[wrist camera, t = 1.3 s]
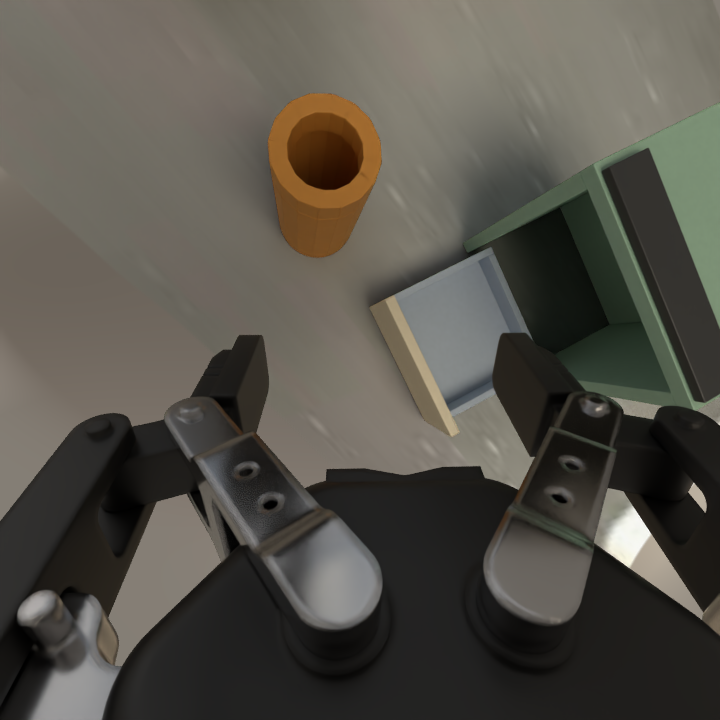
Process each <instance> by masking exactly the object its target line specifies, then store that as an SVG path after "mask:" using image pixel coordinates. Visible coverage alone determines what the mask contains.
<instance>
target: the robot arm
mask: <svg viewBox="0 0 720 720" xmlns="http://www.w3.org/2000/svg"><path fill="white" fill-rule="evenodd" d="M492 383H493V388H494V390H495V392H496V394H497V396H498V398H499V400H500V402H501V403H502V405H503V407H504V409H505V411H506V413H507V415H508V416H509V418H510V420H511V422H512V424H513V426H514V428H515V429H516V431H517V433H518V435H519V437H520V439H521V441H522V442H523V444H524V446H525V448H526V450H527V452H528V454H529V455H530V457H535V458H534V460H533V462H532V464H531V466H530V468H529V470H528V472H527V474H526V476H525V478H524V480H523V482H522V485H521V487H520V489H519V490H517V489H515V488H513V487H511V486H509V485H507V484H504V483H501V482H498V481H495V480H491V479H487V478H485V477H484V475H483V472H482V470H481V467H480V466H470V467H441V468H436V469H432V470H428V471H423V472H419V473H414V474H410V475H399V474H393V473H387V472H382V471H376V470H370V469H365V468H364V469H327V472H326V481H324V482H320V483H317V484H314V485H311V486H309V487H307V488H304V487H303V486H302V485H301V484H300V482H299V481H298V480H297V479H296V478H295V477H294V476H293V475H292V473H291V472H290V471H289V470H288V469H287V468H286V467H285V465H284V464H283V463H282V462H281V461H280V460H279V459H278V458H277V456H276V455H275V454H274V453H273V452H272V451H271V450H270V448H268V446H267V445H266V444H265V443H264V442H263V440H262V439H261V438H260V437H259V436H258V435H257V434H256V432H257V428H258V425H259V421H260V418H261V415H262V411H263V407H264V404H265V401H266V397H267V394H268V388H269V375H268V368H267V360H266V353H265V345H264V339H263V336H262V335H239V336H238V338H237V340H236V342H235V344H234V346H233V348H232V350H222V351H221V352H220V353H218V354H217V355H216V356H214V357H213V358H212V360H211V361H210V363H209V365H208V368H207V369H206V370H205V372H204V374H203V376H202V377H201V379H200V381H199V383H198V385H197V386H196V388H195V390H194V392H193V394H192V395H191V397H190V398H187V399H183V400H181V401H179V402H177V403H175V404H173V405H172V406H171V407H170V408H168V410H167V411H166V412H165V415H164V420H161V421H157V422H152V423H148V424H143V425H138V426H134V427H132V425H131V423H130V420H129V419H128V417H127V416H125V415H122V414H117V413H110V414H103V415H99V416H95V417H92V418H90V419H88V420H86V421H84V422H82V423H80V424H79V425H77V426H76V427H75V428H74V429H73V430H72V431H71V432H70V433H69V434H68V436H67V437H66V438H65V440H64V441H63V442H62V443H61V445H60V446H59V447H58V448H57V450H56V451H55V452H54V454H53V455H52V456H51V457H50V459H49V460H48V461H47V462H46V464H45V465H44V467H43V468H42V469H41V470H40V471H39V473H38V474H37V475H36V476H35V478H34V479H33V481H32V482H31V483H30V484H29V485H28V487H27V488H26V489H25V490H24V492H23V493H22V494H21V496H20V497H19V498H18V499H17V501H16V502H15V503H14V504H13V506H12V507H11V508H10V510H9V511H8V512H7V513H6V515H5V516H4V517H3V519H2V520H1V521H0V720H720V426H719V425H718V424H717V423H716V422H715V421H714V420H712V419H711V418H709V417H708V416H706V415H704V414H702V413H700V412H698V411H695V410H692V409H689V408H685V407H681V406H663V407H661V408H659V409H658V411H657V413H656V415H655V417H654V419H647V418H641V417H636V416H630V415H625V414H624V412H623V409H622V407H621V406H620V405H619V404H618V403H617V402H616V401H614V400H613V399H611V398H609V397H607V396H605V395H602V394H599V393H596V392H591V391H586V390H585V389H584V388H583V386H582V385H581V384H580V383H579V382H578V381H577V380H576V378H575V377H574V376H573V375H572V374H571V373H570V372H568V369H567V368H566V367H565V366H564V365H562V362H561V361H560V360H559V359H558V358H557V357H556V356H555V354H553V353H551V352H550V351H548V350H546V349H545V348H543V347H538V346H537V345H536V344H535V343H534V341H533V340H532V339H531V338H530V337H529V335H528V334H527V333H502V334H501V336H500V338H499V342H498V347H497V352H496V357H495V362H494V368H493V373H492ZM693 483H695V484H696V485H697V487H698V488H699V489H700V490H701V491H702V493H703V494H704V496H705V499H706V503H707V510H706V513H705V512H704V511H703V510H702V508H701V507H700V506H699V505H698V504H697V502H696V501H695V500H694V499H693V498H692V496H691V495H690V494H689V493H688V491H689V490H690V488H691V486H692V484H693ZM607 488H611V489H616V490H620V491H624V493H625V494H626V496H627V498H628V499H629V501H630V502H631V504H632V505H633V507H634V508H635V510H636V511H637V513H638V514H639V516H640V517H641V519H642V520H643V522H644V523H645V525H646V526H647V528H648V529H649V531H650V532H651V534H652V535H653V537H654V538H655V540H656V541H657V543H658V545H659V546H660V547H661V549H662V551H663V552H664V554H665V555H666V557H667V558H668V560H669V561H670V563H671V564H672V566H673V567H674V569H675V570H676V572H677V573H678V575H679V576H680V578H681V579H682V581H683V582H684V584H685V585H686V587H687V588H688V590H689V591H690V593H691V595H692V596H693V598H694V599H695V600H696V602H697V604H698V605H699V607H700V608H701V609H702V611H703V616H702V620H701V619H700V618H698V617H697V616H696V615H695V614H693V613H692V612H690V611H689V610H687V609H686V608H685V607H683V606H682V605H680V604H679V603H678V602H676V601H675V600H673V599H672V598H670V597H669V596H668V595H666V594H665V593H663V592H662V591H661V590H659V589H658V588H657V587H655V586H654V585H652V584H651V583H650V582H648V581H647V580H645V579H644V578H642V577H641V576H640V575H638V574H637V573H635V572H634V571H633V570H631V569H630V568H628V567H627V566H626V565H624V564H623V563H621V562H620V561H619V560H617V559H616V558H614V557H613V556H612V555H610V554H609V553H607V552H606V551H605V550H603V549H602V548H600V547H599V546H598V545H596V544H595V543H594V539H595V535H596V531H597V527H598V523H599V519H600V515H601V512H602V508H603V504H604V500H605V496H606V492H607ZM183 494H187V495H188V497H189V499H190V501H191V503H192V504H193V506H194V508H195V510H196V512H197V513H198V515H199V517H200V519H201V521H202V522H203V524H204V526H205V528H206V530H207V531H208V533H209V535H210V537H211V539H212V541H213V543H214V545H215V548H216V550H217V553H218V555H219V558H220V560H221V563H220V564H219V565H218V566H217V567H216V568H215V569H214V570H213V571H212V572H211V573H209V574H208V575H207V576H206V577H205V578H204V579H203V580H202V581H201V582H200V583H199V584H198V585H197V586H196V587H195V588H194V589H193V590H192V591H191V592H190V593H189V594H188V595H187V596H185V598H183V599H182V600H181V601H180V602H179V603H178V604H177V605H176V606H175V607H174V608H173V609H172V610H171V611H170V612H169V613H168V614H167V615H166V616H165V617H164V618H162V619H161V620H160V621H159V622H158V623H157V624H156V625H155V626H154V627H153V628H152V629H151V630H150V631H149V632H148V633H147V634H146V635H145V636H144V637H143V638H142V639H141V640H140V642H139V643H138V644H137V645H136V647H135V648H134V649H133V650H132V652H131V653H130V654H129V656H128V658H127V659H126V661H125V663H124V664H123V666H120V667H119V666H115V661H116V657H117V652H118V647H119V640H118V635H117V633H116V631H115V629H114V627H113V625H112V624H111V622H110V620H109V618H108V617H109V614H110V612H111V609H112V607H113V605H114V602H115V600H116V597H117V595H118V593H119V590H120V588H121V585H122V583H123V581H124V578H125V576H126V574H127V571H128V569H129V566H130V564H131V562H132V559H133V557H134V554H135V552H136V550H137V547H138V545H139V543H140V540H141V538H142V535H143V533H144V531H145V528H146V526H147V523H148V521H149V519H150V516H151V514H152V512H153V509H154V507H155V504H156V502H157V501H161V500H164V499H168V498H172V497H175V496H179V495H183Z"/></svg>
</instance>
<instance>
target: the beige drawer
mask: <svg viewBox="0 0 720 720" xmlns="http://www.w3.org/2000/svg"><path fill="white" fill-rule="evenodd" d="M370 310H371V312H372V314H373V316H374V318H375V320H376V322H377V324H378V326H379V328H380V330H381V333H382V335H383V337H384V339H385V341H386V343H387V345H388V347H389V349H390V351H391V353H392V355H393V357H394V359H395V361H396V363H397V365H398V367H399V369H400V371H401V374H402V376H403V378H404V380H405V382H406V384H407V386H408V388H409V390H410V392H411V394H412V396H413V398H414V400H415V402H416V404H417V406H418V408H419V410H420V412H421V415H422V417H423V419H424V420H425V421H426V422H428V423H429V424H431V425H432V426H434V427H436V428H437V429H439V430H440V431H442V432H443V433H445V434H447V435H448V436H450V437H453V436H455V435H456V434H458V433H459V429H458V427H457V425H456V423H455V421H454V419H453V417H454V416H456V415H458V414H460V413H462V412H463V411H465V410H467V409H469V408H471V407H473V406H475V405H476V404H478V403H480V402H482V401H484V400H486V399H487V398H489V397H491V396H493V395H495V394H496V392H495V390H494V388H493V383H492V373H493V368H494V362H495V357H496V352H497V347H498V342H499V338H500V336H501V334H502V333H527V334H528V335H529V337H530V338H531V339H532V337H531V335H530V332H529V330H528V328H527V326H526V323H525V321H524V319H523V317H522V314H521V312H520V310H519V308H518V305H517V303H516V301H515V299H514V296H513V294H512V292H511V290H510V288H509V285H508V283H507V281H506V279H505V276H504V274H503V272H502V270H501V267H500V265H499V263H498V261H497V258H496V256H495V254H494V252H493V249H492V247H489V248H487V249H485V250H483V251H481V252H479V253H477V254H475V255H473V256H471V257H469V258H467V259H465V260H463V261H461V262H459V263H457V264H455V265H453V266H451V267H449V268H447V269H445V270H443V271H441V272H439V273H437V274H435V275H433V276H431V277H429V278H427V279H425V280H423V281H421V282H419V283H417V284H415V285H413V286H411V287H409V288H407V289H405V290H403V291H401V292H399V293H397V294H395V295H392V296H390V297H388V298H386V299H384V300H382V301H380V302H378V303H376V304H374V305H372V306H370ZM532 340H533V339H532Z"/></svg>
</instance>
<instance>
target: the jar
mask: <svg viewBox="0 0 720 720" xmlns="http://www.w3.org/2000/svg"><path fill="white" fill-rule="evenodd" d="M268 152H269V163H270V169H271V175H272V181H273V187H274V193H275V199H276V205H277V211H278V217H279V223H280V228H281V230H282V233H283V235H284V237H285V239H286V241H287V242H288V243H289V245H290V246H291V247H292V248H293V249H295V250H296V251H297V252H299V253H301V254H303V255H306V256H309V257H318V258H319V257H326V256H329V255H332V254H334V253H335V252H337V251H338V250H339V249H341V248H342V247H343V245H344V244H345V243H346V241H347V240H348V239H349V237H350V234H351V232H352V230H353V228H354V226H355V224H356V222H357V220H358V218H359V215H360V213H361V211H362V209H363V207H364V205H365V203H366V201H367V199H368V196H369V194H370V192H371V190H372V188H373V186H374V184H375V181H376V178H377V175H378V172H379V169H380V166H381V162H382V160H381V145H380V140H379V137H378V134H377V132H376V130H375V128H374V126H373V124H372V122H371V120H370V118H369V117H368V116H367V115H366V114H365V113H364V112H363V111H362V110H361V109H360V108H359V107H358V106H357V105H356V104H353V102H351V101H348V100H346V99H344V98H341V97H339V96H337V95H334V94H333V95H332V94H315V93H312V94H310V93H309V94H307V95H305V96H302V97H300V98H298V99H295V100H293V101H291V102H290V103H289V104H288V105H287V106H286V107H285V108H284V109H283V110H282V111H281V112H280V113H279V115H278V116H277V117H276V118H275V120H274V123H273V126H272V129H271V132H270V135H269V138H268Z"/></svg>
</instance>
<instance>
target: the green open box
mask: <svg viewBox="0 0 720 720" xmlns="http://www.w3.org/2000/svg"><path fill="white" fill-rule="evenodd" d="M558 208H561V210H562V213H563V215H564V217H565V220H566V222H567V225H568V227H569V229H570V232H571V234H572V236H573V239H574V241H575V243H576V246H577V248H578V251H579V253H580V255H581V258H582V260H583V262H584V265H585V267H586V270H587V272H588V274H589V277H590V279H591V281H592V284H593V286H594V289H595V291H596V293H597V296H598V298H599V300H600V303H601V305H602V307H603V310H604V312H605V315H606V317H607V319H608V322H609V324H610V325H608V326H606V327H604V328H602V329H600V330H599V331H597V332H595V333H593V334H591V335H589V336H588V337H586V338H584V339H582V340H580V341H578V342H577V343H575V344H573V345H571V346H569V347H567V348H566V349H564V350H562V351H560V352H558V353H556V354H555V356H556V357H557V358H558V359H559V360H560V361H561V362H562V365H564V366H565V367H566V368H567V369H568V372H570V373H571V374H572V375H573V376H574V377H575V378H576V380H577V381H578V382H579V383H580V384H581V385H582V386H583V388H584V389H585V390H586V391H591V392H596V393H599V394H602V395H605V396H609V397H615V398H621V399H626V400H632V401H638V402H644V403H649V404H655V405H661V406H681V407H685V408H689V409H692V410H695V411H696V410H698V409H700V408H701V407H703V406H705V405H706V404H708V403H710V402H711V401H713V400H715V399H717V398H718V397H720V102H719V103H717V104H715V105H713V106H711V107H709V108H707V109H705V110H703V111H700V112H698V113H696V114H694V115H692V116H690V117H688V118H686V119H684V120H682V121H680V122H678V123H676V124H674V125H672V126H670V127H668V128H666V129H664V130H661V131H659V132H657V133H655V134H653V135H651V136H649V137H647V138H645V139H643V140H641V141H639V142H637V143H635V144H633V145H631V146H629V147H627V148H625V149H622V150H620V151H618V152H616V153H614V154H612V155H610V156H608V157H606V158H604V159H602V160H600V161H598V162H596V163H594V164H592V165H590V166H589V167H587V168H585V169H584V170H582V171H581V172H579V173H577V174H576V175H574V176H572V177H571V178H569V179H567V180H566V181H564V182H562V183H561V184H559V185H557V186H556V187H554V188H553V189H551V190H549V191H548V192H546V193H544V194H543V195H541V196H539V197H538V198H536V199H534V200H533V201H531V202H529V203H528V204H526V205H525V206H523V207H521V208H520V209H518V210H516V211H515V212H513V213H511V214H510V215H508V216H506V217H505V218H503V219H501V220H500V221H498V222H497V223H495V224H493V225H492V226H490V227H488V228H487V229H485V230H483V231H482V232H480V233H478V234H477V235H475V236H473V237H472V238H470V239H469V240H467V241H465V242H464V243H463V245H464V247H465V249H466V251H467V253H469V252H471V251H473V250H475V249H477V248H479V247H481V246H483V245H485V244H487V243H489V242H491V241H493V240H495V239H497V238H499V237H501V236H503V235H505V234H507V233H509V232H511V231H513V230H515V229H517V228H519V227H521V226H523V225H525V224H527V223H529V222H531V221H533V220H535V219H537V218H539V217H541V216H543V215H545V214H547V213H549V212H551V211H554V210H556V209H558Z"/></svg>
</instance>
